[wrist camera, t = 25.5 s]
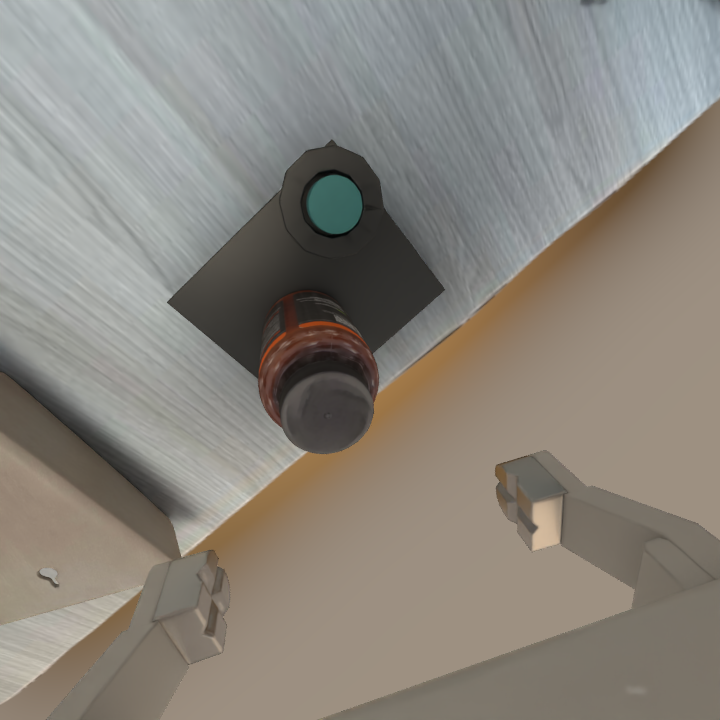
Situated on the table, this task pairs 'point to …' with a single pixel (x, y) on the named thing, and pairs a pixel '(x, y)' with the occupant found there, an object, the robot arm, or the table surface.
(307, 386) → the supplement bottle
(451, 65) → the table surface
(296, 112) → the table surface
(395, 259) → the black button pad
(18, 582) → the grey wedge
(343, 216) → the button
